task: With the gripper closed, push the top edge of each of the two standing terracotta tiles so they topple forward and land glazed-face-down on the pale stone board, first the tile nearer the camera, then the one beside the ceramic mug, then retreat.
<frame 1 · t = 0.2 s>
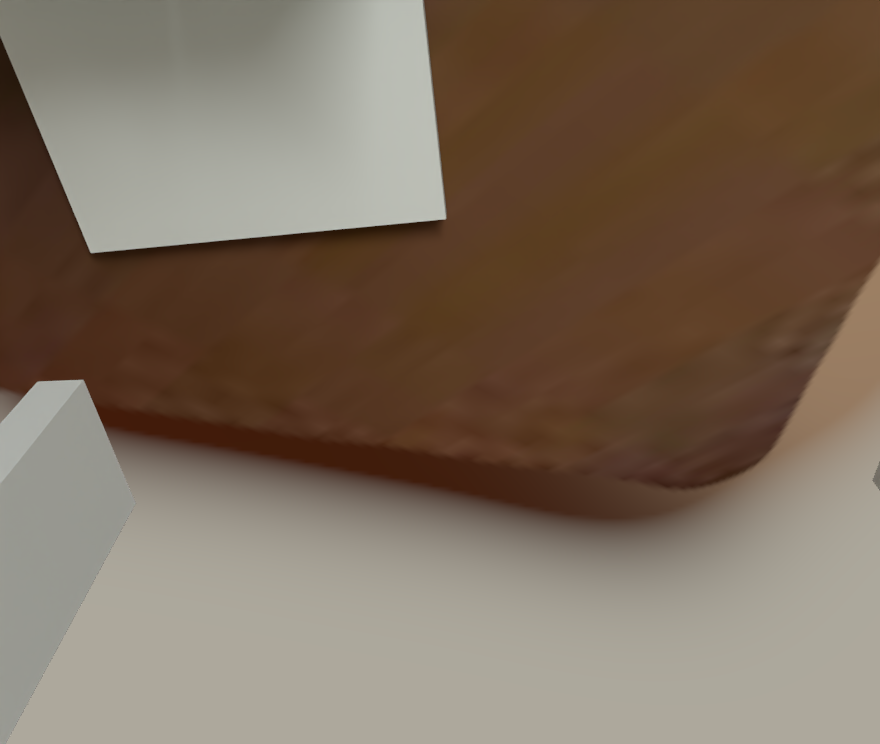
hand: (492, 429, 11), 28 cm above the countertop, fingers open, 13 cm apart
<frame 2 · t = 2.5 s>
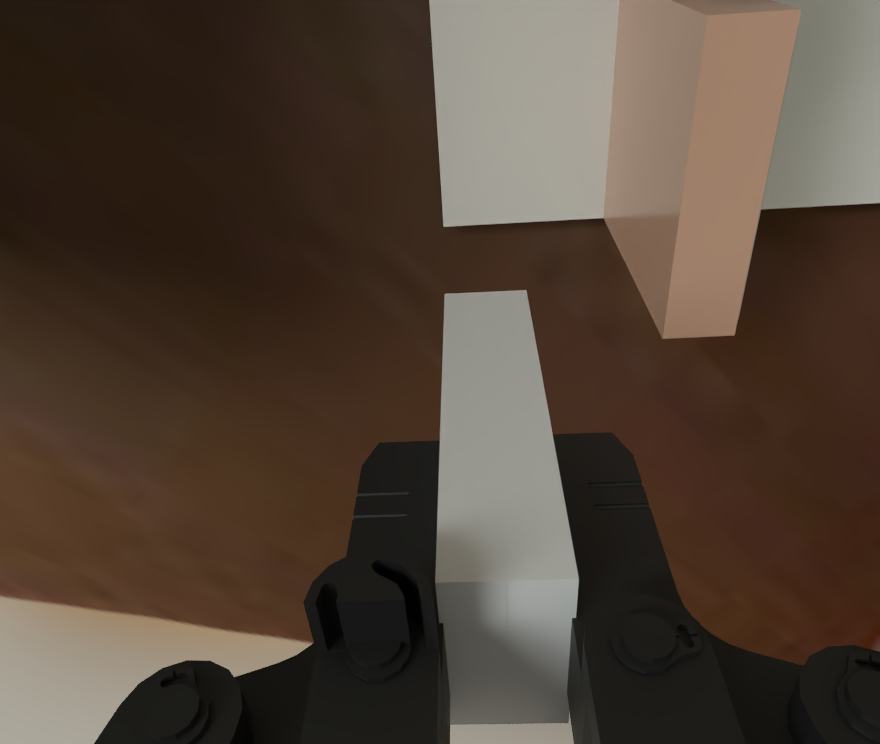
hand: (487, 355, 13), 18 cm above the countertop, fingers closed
tile a: (639, 107, 27), point 1 cm above the countertop, touching stone board
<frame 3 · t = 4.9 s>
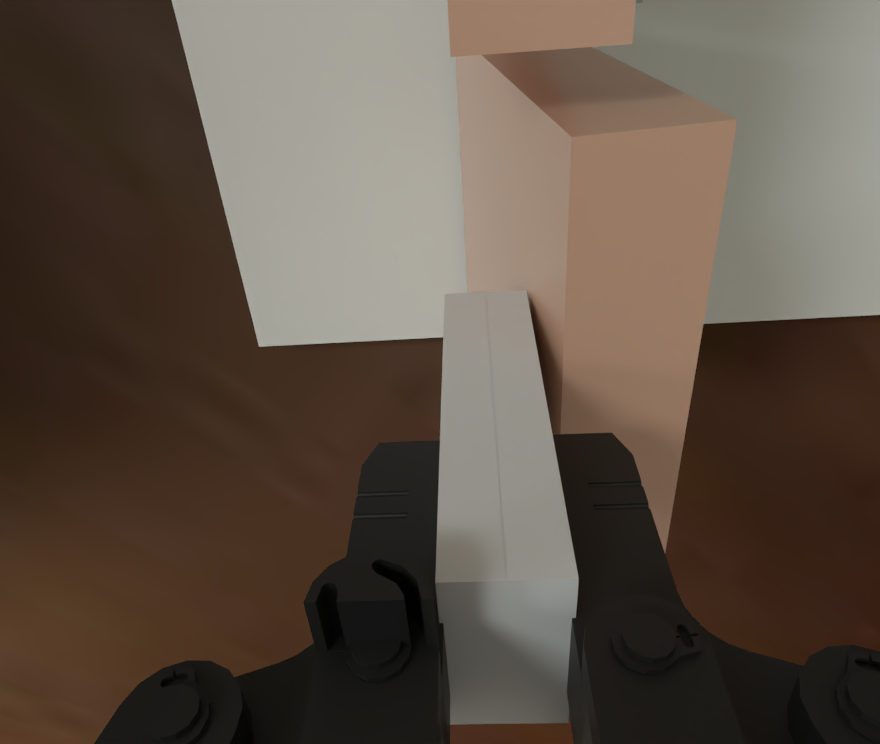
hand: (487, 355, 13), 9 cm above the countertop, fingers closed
tile a: (501, 201, 20), point 1 cm above the countertop, tilted 8°, touching stone board
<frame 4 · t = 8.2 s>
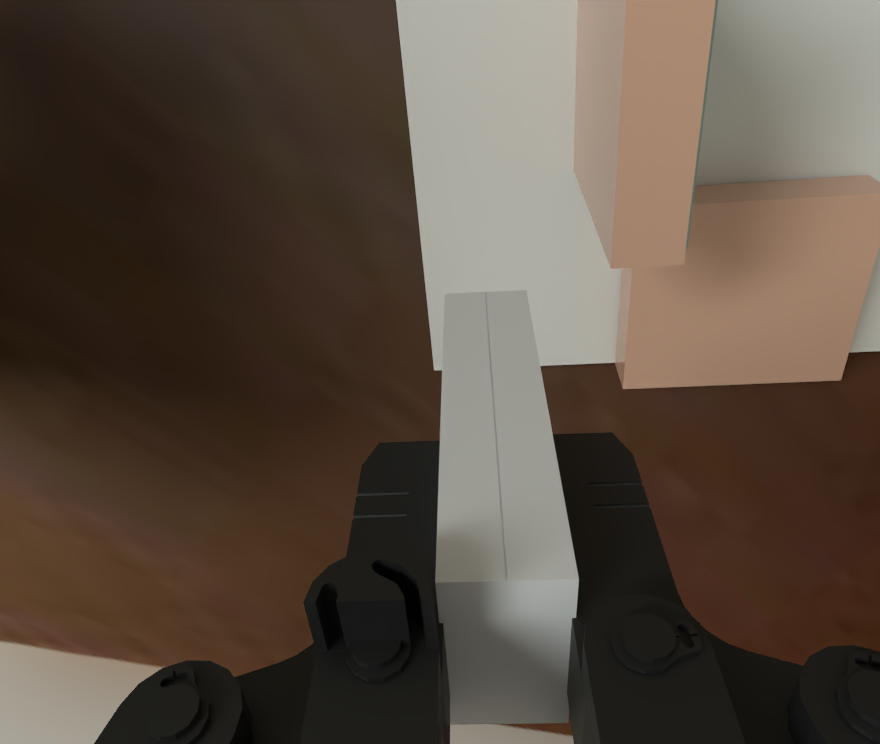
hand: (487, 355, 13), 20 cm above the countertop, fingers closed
tile a: (624, 294, 31), point 2 cm above the countertop, tilted 90°, touching stone board
tile b: (604, 54, 27), point 1 cm above the countertop, touching stone board
stone board: (687, 153, 30), on the countertop
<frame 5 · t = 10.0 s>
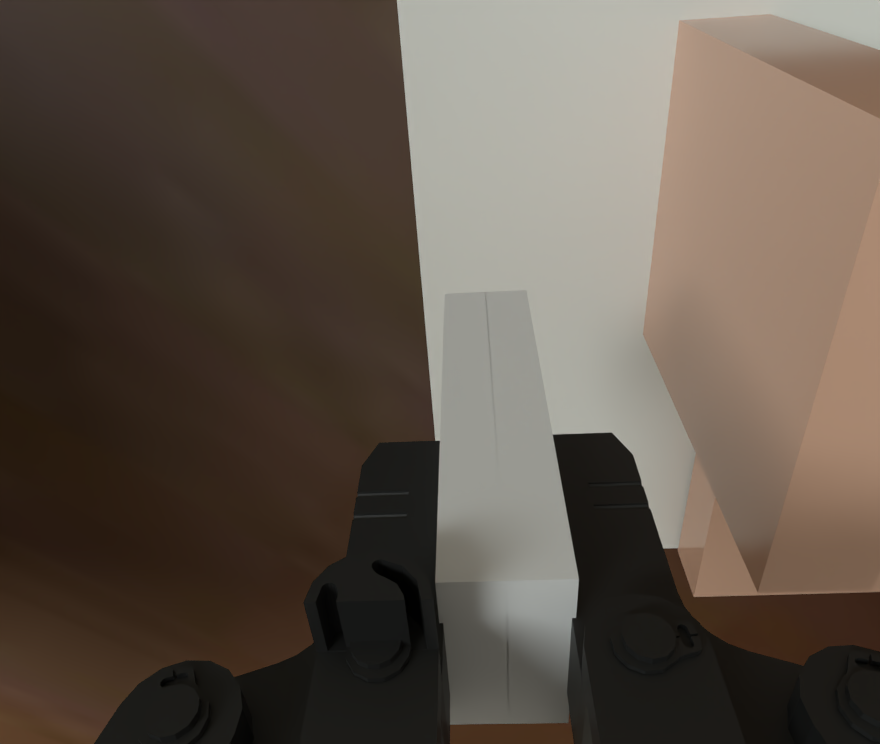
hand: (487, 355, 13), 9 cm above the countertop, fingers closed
tile a: (702, 486, 24), point 2 cm above the countertop, tilted 90°, touching stone board
tile b: (698, 195, 19), point 1 cm above the countertop, touching stone board
stone board: (791, 308, 23), on the countertop
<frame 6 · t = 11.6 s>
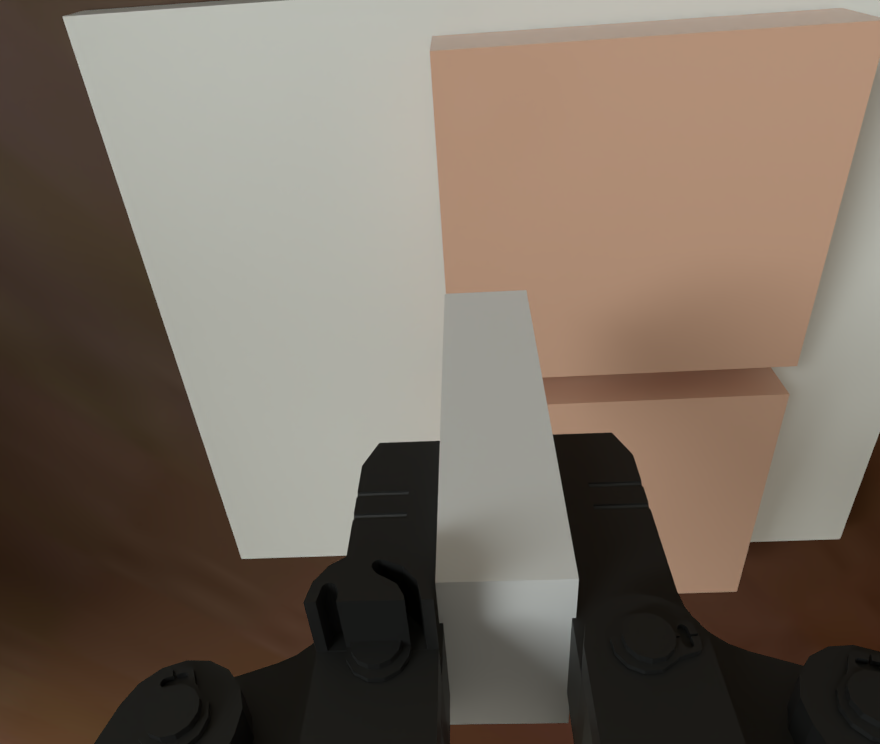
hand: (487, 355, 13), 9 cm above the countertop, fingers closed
tile a: (460, 491, 24), point 2 cm above the countertop, tilted 90°, touching stone board
tile b: (442, 223, 19), point 2 cm above the countertop, tilted 90°, touching stone board
stone board: (534, 318, 23), on the countertop
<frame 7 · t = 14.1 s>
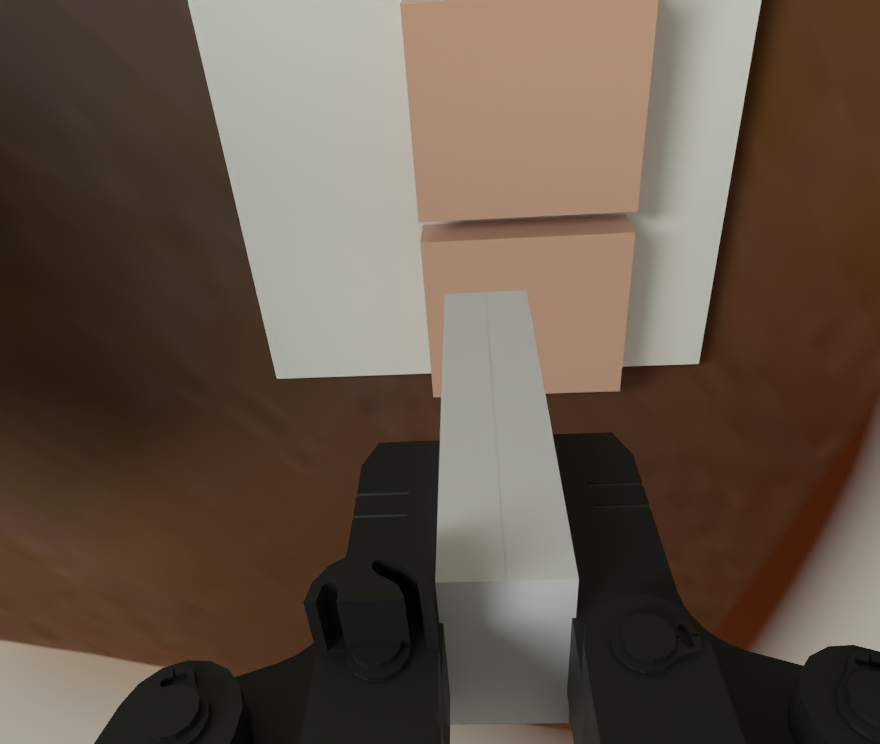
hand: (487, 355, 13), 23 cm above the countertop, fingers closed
tile a: (428, 314, 36), point 2 cm above the countertop, tilted 90°, touching stone board
tile b: (411, 116, 30), point 2 cm above the countertop, tilted 90°, touching stone board
stone board: (477, 193, 35), on the countertop
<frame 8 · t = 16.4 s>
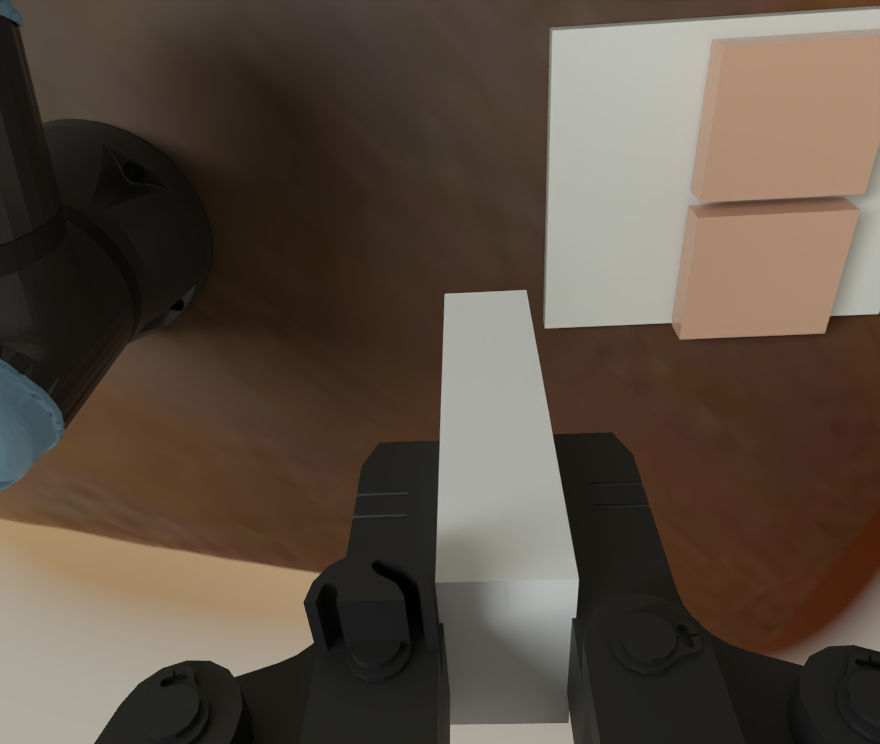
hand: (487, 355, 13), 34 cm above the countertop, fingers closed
tile a: (683, 274, 47), point 2 cm above the countertop, tilted 90°, touching stone board
tile b: (705, 124, 42), point 2 cm above the countertop, tilted 90°, touching stone board
stone board: (727, 181, 46), on the countertop
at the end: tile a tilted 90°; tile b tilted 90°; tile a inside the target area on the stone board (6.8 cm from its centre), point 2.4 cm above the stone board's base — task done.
